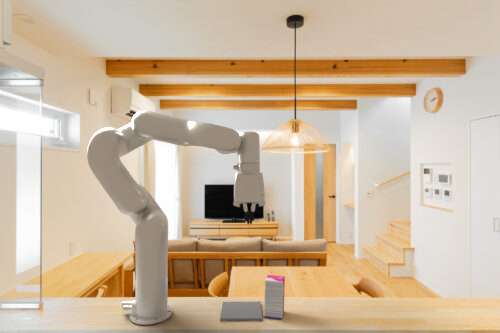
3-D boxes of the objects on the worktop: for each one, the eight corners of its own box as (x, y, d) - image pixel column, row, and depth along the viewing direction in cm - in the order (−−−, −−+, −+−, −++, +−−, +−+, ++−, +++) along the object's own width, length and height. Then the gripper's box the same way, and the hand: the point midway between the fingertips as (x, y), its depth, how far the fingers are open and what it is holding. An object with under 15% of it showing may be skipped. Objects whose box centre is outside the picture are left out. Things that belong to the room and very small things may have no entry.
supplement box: (283, 320, 93) (283, 281, 93) (263, 318, 94) (263, 280, 95) (284, 311, 99) (284, 275, 99) (266, 309, 100) (266, 274, 100)
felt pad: (220, 321, 92) (220, 318, 92) (222, 304, 104) (222, 301, 104) (262, 321, 92) (262, 318, 93) (259, 303, 104) (260, 301, 104)
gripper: (226, 169, 100) (226, 225, 100) (272, 168, 101) (272, 224, 101) (226, 169, 108) (227, 221, 108) (269, 168, 108) (270, 221, 108)
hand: (249, 223), depth 104 cm, fingers closed
